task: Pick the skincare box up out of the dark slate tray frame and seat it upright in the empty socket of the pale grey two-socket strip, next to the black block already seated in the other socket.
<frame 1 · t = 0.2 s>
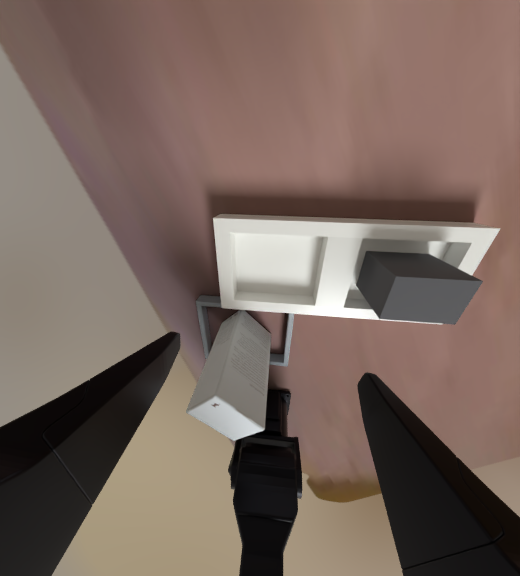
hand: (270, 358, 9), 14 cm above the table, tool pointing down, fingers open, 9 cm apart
socket strip: (331, 265, 22), on the table
twin block: (390, 270, 21), resting on socket strip
tray: (246, 328, 27), on the table
skincare box: (247, 327, 27), resting in tray
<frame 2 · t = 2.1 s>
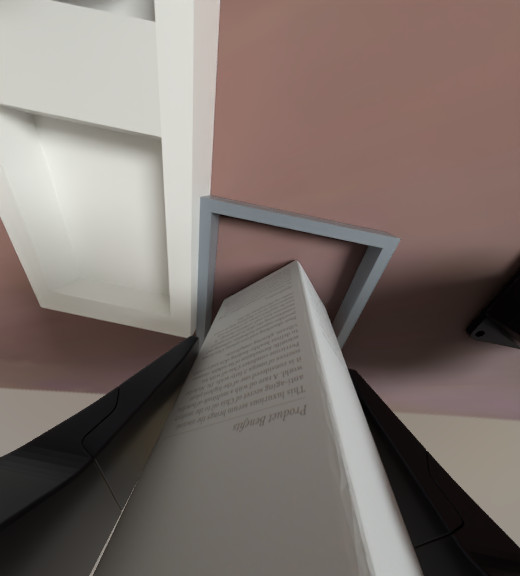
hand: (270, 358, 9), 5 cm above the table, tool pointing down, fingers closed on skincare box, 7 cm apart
socket strip: (110, 92, 9), on the table
tray: (274, 302, 14), on the table
skincare box: (275, 300, 14), resting in tray, touching gripper
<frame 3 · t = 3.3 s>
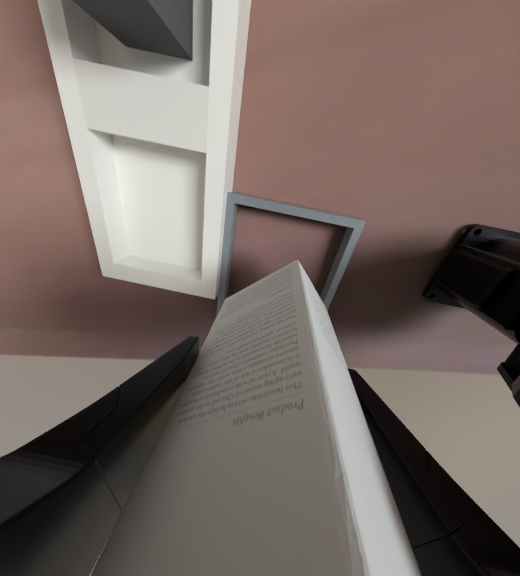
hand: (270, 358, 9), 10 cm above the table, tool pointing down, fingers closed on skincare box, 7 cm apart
socket strip: (166, 120, 13), on the table
tray: (278, 274, 18), on the table
skincare box: (275, 300, 14), point 5 cm above the table, touching gripper
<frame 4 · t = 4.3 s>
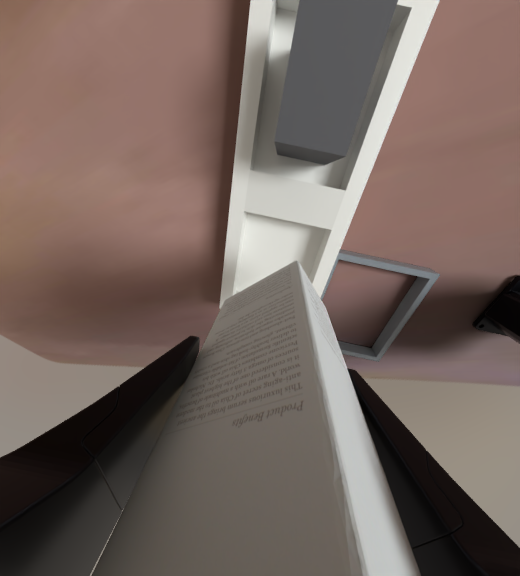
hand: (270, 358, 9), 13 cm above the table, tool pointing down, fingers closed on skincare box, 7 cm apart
socket strip: (291, 199, 18), on the table
twin block: (312, 112, 14), resting on socket strip
tray: (355, 306, 22), on the table
skincare box: (275, 300, 14), point 8 cm above the table, touching gripper
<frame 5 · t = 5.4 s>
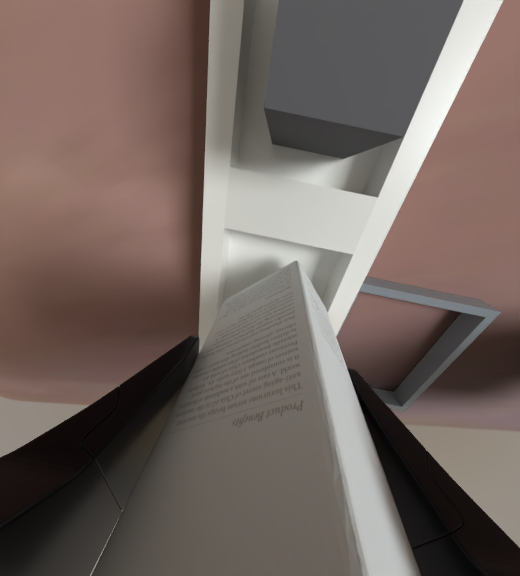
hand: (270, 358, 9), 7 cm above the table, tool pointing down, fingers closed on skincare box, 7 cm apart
socket strip: (293, 208, 13), on the table
twin block: (326, 75, 9), resting on socket strip
tray: (376, 345, 17), on the table
skincare box: (275, 300, 14), point 2 cm above the table, touching gripper
when the fingers open (7 cm above the table, at t = 6.3 s): skincare box drops 1 cm, resting on socket strip.
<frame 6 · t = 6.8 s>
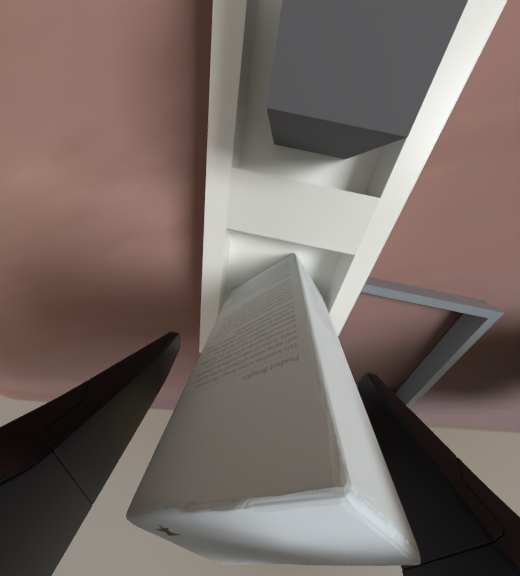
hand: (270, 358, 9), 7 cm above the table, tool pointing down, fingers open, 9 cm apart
socket strip: (294, 208, 13), on the table
twin block: (329, 75, 9), resting on socket strip
tray: (377, 345, 17), on the table
skincare box: (276, 291, 15), resting on socket strip
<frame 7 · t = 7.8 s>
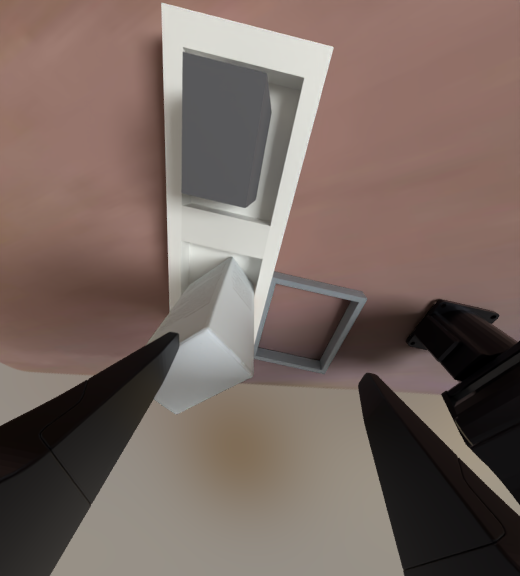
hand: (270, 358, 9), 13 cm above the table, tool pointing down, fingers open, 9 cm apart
socket strip: (230, 227, 19), on the table
twin block: (238, 154, 16), resting on socket strip
tray: (300, 323, 24), on the table
skincare box: (223, 284, 22), point 1 cm above the table, touching gripper, socket strip
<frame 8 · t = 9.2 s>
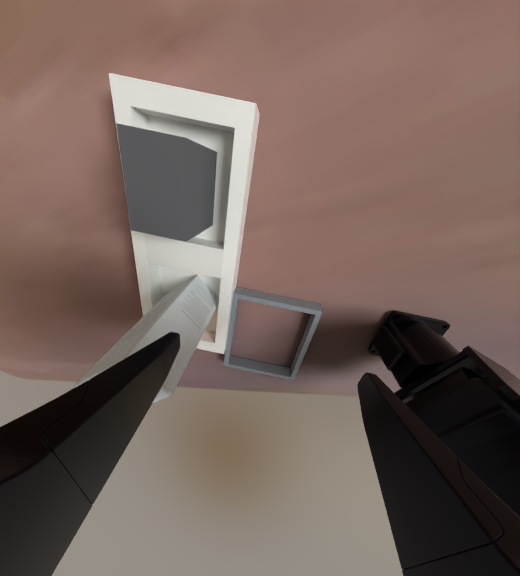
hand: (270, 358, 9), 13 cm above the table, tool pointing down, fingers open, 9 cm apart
socket strip: (194, 249, 21), on the table
twin block: (193, 187, 18), resting on socket strip
tray: (267, 333, 26), on the table
skincare box: (192, 297, 24), resting on socket strip
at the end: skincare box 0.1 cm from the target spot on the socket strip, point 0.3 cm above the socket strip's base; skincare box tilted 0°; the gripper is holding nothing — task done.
